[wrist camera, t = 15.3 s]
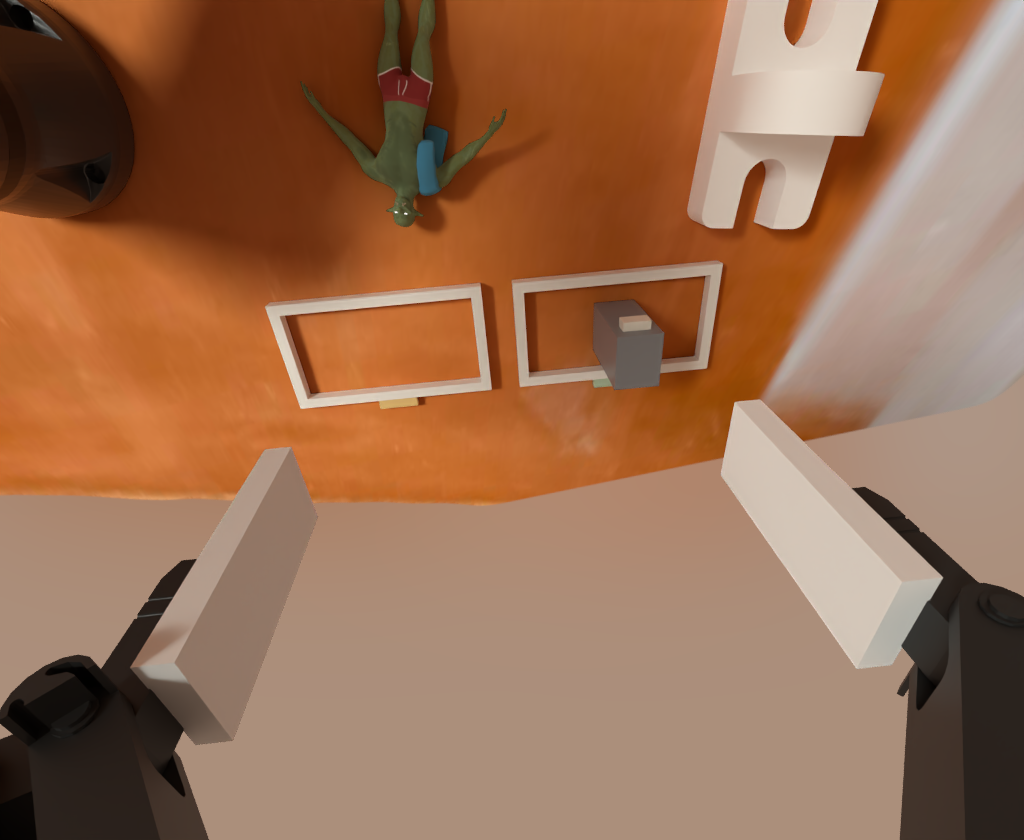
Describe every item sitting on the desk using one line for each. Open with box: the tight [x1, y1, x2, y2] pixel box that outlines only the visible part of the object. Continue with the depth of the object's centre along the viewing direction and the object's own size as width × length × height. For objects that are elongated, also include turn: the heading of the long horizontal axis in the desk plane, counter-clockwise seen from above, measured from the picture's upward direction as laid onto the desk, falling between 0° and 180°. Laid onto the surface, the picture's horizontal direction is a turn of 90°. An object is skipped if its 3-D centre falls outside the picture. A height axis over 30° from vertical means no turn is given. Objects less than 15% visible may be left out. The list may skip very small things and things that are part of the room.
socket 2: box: [512, 260, 723, 388], centre depth 50 cm, size 20×12×1 cm, turn 94°
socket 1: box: [265, 283, 492, 409], centre depth 49 cm, size 20×12×1 cm, turn 94°
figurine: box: [301, 0, 507, 227], centre depth 38 cm, size 16×4×18 cm
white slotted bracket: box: [687, 0, 884, 229], centre depth 37 cm, size 10×18×10 cm, turn 179°
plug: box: [593, 299, 664, 390], centre depth 46 cm, size 4×6×9 cm
